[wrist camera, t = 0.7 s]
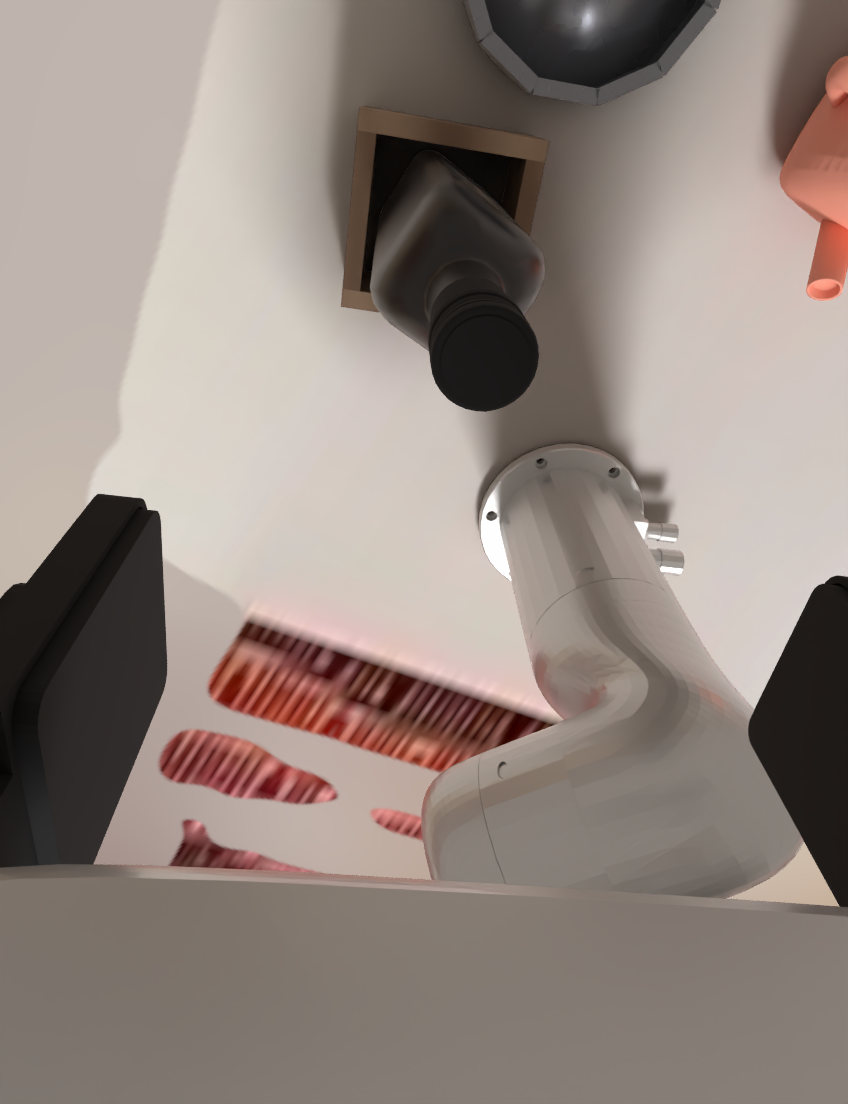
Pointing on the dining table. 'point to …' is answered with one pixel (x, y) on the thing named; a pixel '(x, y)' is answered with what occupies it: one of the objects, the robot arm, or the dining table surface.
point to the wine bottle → (459, 282)
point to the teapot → (824, 182)
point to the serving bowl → (586, 42)
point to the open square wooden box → (372, 121)
